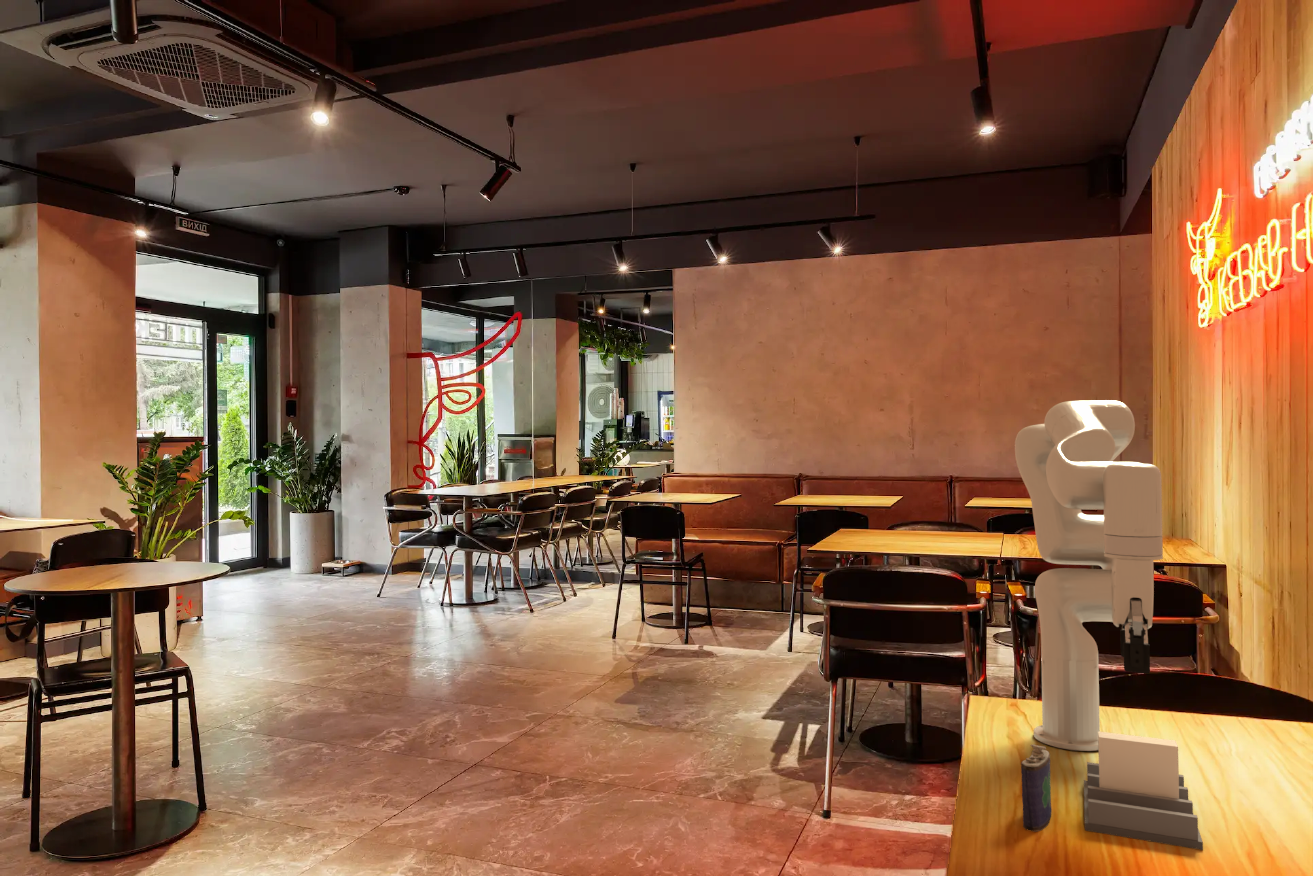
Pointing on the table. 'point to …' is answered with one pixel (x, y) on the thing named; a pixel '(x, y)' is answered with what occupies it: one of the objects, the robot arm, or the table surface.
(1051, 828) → the table surface
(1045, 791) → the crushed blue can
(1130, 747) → the beige square block
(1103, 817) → the rack
